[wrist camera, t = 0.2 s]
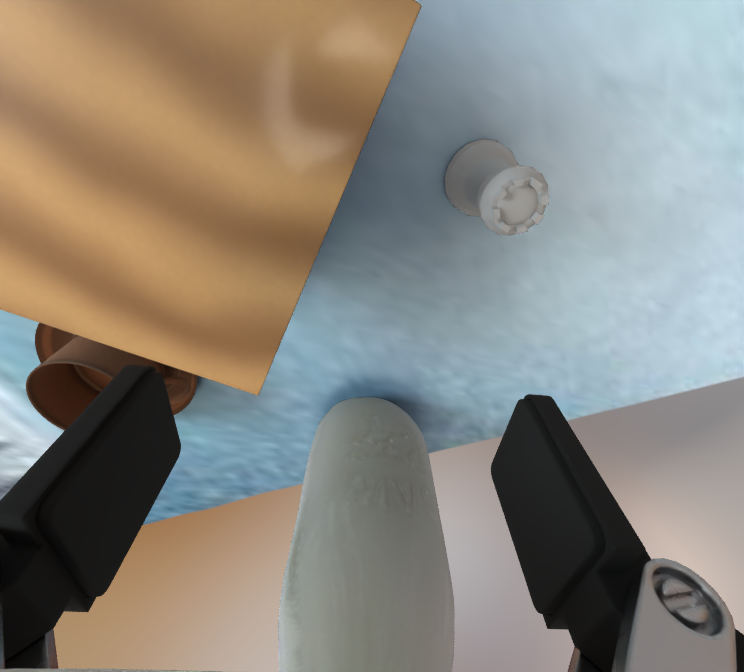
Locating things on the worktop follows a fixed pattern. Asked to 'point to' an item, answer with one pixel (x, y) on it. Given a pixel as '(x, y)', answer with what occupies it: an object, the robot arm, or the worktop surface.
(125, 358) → the cup and saucer
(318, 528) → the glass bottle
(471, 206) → the rook chess piece
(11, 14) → the board
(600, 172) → the worktop surface
